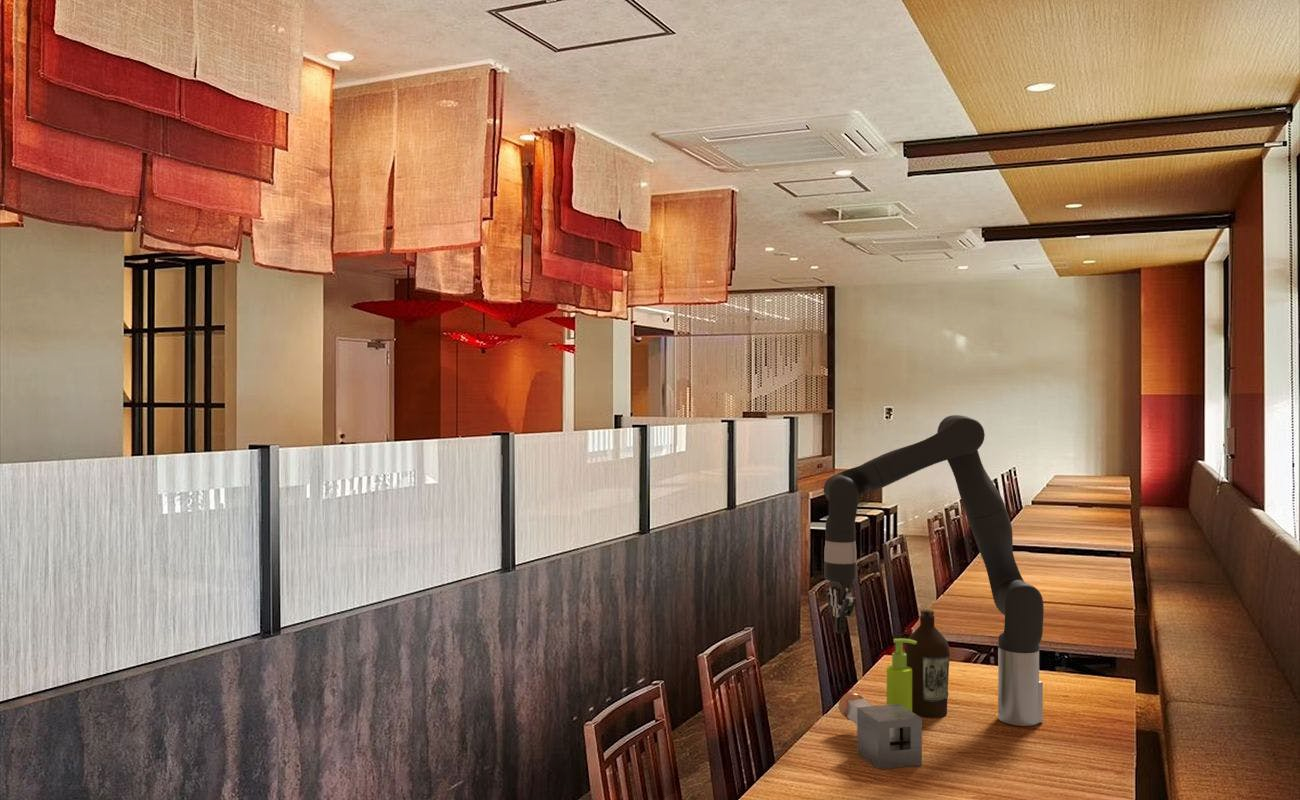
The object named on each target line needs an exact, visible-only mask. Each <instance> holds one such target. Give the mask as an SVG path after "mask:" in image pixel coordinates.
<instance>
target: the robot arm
mask: <svg viewBox="0 0 1300 800" xmlns="http://www.w3.org/2000/svg"><path fill="white" fill-rule="evenodd" d="M984 441H985V429H984V427H983V424H982V423H980V421H978V420H977V419H975V418H973V417H971V416H968V415H961V414H960V415H959V414H956V415H955V414H951V415H948V416H945V418H943V419H942V420H941V421H940V423H939V425H938V427H937V432H936V433H935V434H933V435H932V436H930V437H927V438H925V439H923V440H920V441H919V442H916V443H913V444H909V445H906V446H903V447H900V448H896V449H894V450H891V451H889V452H886V453H883V454H881V455H879V456H876V457H874V458H873V459H870V460H868V461H866V462H864V463H863V464H861V465H858V466H855V467H851V468H849V469H846V470H843V471H841V472H838V473H835V474H833V475H831V476H830V477H829V478H827V480H825V483H824V485H823V493H824V496H825V498H826V499H827V500H828V516H827V518H826V520H825V529H824V530H825V532H824V533H825V535H824V536H825V537H824V538H825V541H824V543H825V545H824V550H823V551H824V552H823V553H824V554H823V555H824V556H823V557H824V560H823V561H824V562H823V567H824V568H823V570H824V571H823V572H824V573H823V578H824V579H825V580H826V581H829V584H828V585H829V588H825V589H824V594H825V597H826V601H827V605H828V607H829V612H830V613H832V615H833V617H834V632H835V633H837V634H845V633H846V631H847V630H846V628H847V627H846V626H847V625H846V623H847V622H846V621H847V618H848V617H851V615H852V613H853V610H854V608H855V605H856V603H857V598H856V597H852V586H851V583H853V582H854V581H857V544H856V537H857V535H856V520H857V519H856V517H857V511H858V504H859V496H860V495H862V494H865V493H867V492H873V491H876V490H880V489H883V488H885V487H887V486H890V485H891V484H893V483H895V482H898V481H899V480H902V479H904V478H906V477H908V476H910V475H912V474H915V473H917V472H919V471H921V470H924V469H926V468H928V467H931V466H933V465H936V464H938V463H941V462H944V461H947V462H948V464H949V467H950V468H951V471H952V474H953V476H954V480H955V482H956V483H955V484H956V487H957V489H958V493H959V496H960V499H961V503H962V506H963V510H964V512H965V516H966V518H967V522H968V525H969V528H970V530H971V532H972V535H973V538H974V540H975V543H976V546H977V549H978V551H979V554H980V556H981V558H982V560H983V562H984V563H983V564H984V566H985V570H986V572H987V573H986V574H987V577H988V582H989V585H990V590H991V595H992V599H993V602H994V605H995V607H996V608H997V610H998V611H999V612H1000V613H1001V614H1002V615H1004V628H1003V632H1002V633H1001V634H999V636H998V640H997V641H998V643H997V644H998V647H997V648H998V650H997V655H998V659H997V660H998V661H997V663H998V666H997V669H998V670H997V672H998V673H997V680H998V681H997V682H998V683H997V688H998V689H997V693H998V694H997V696H998V697H997V698H998V699H997V704H998V705H997V707H998V708H997V718H998V720H999V721H1000V722H1002V723H1005V724H1009V725H1012V726H1017V727H1019V726H1020V727H1031V726H1036V725H1038V724H1040V723H1043V721H1044V715H1043V714H1044V712H1043V710H1044V709H1043V708H1044V703H1043V702H1044V699H1043V698H1044V697H1043V696H1044V684H1043V682H1042V680H1040V645H1041V640H1042V638H1043V633H1044V611H1045V609H1044V599H1043V595H1042V593H1041V592H1040V590H1039V589H1037V587H1035V586H1033V585H1031V584H1030V583H1027V582H1025V580H1024V578H1023V576H1022V574H1021V572H1020V570H1019V567H1018V565H1017V562H1016V558H1015V556H1014V549H1013V548H1014V547H1013V546H1014V543H1013V542H1014V541H1013V527H1012V521H1011V520H1010V516H1009V513H1008V510H1007V507H1006V504H1005V502H1004V500H1003V498H1002V496H1001V493H1000V492H999V490H998V489H997V487H996V485H995V483H994V482H993V480H992V479H991V478H990V476H989V474H988V473H987V471H986V470H985V468H984V466H983V465H984V464H983V462H982V461H981V457H980V454H979V453H980V452H979V449H980V448H981V446H982V444H983V443H984Z"/></svg>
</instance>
